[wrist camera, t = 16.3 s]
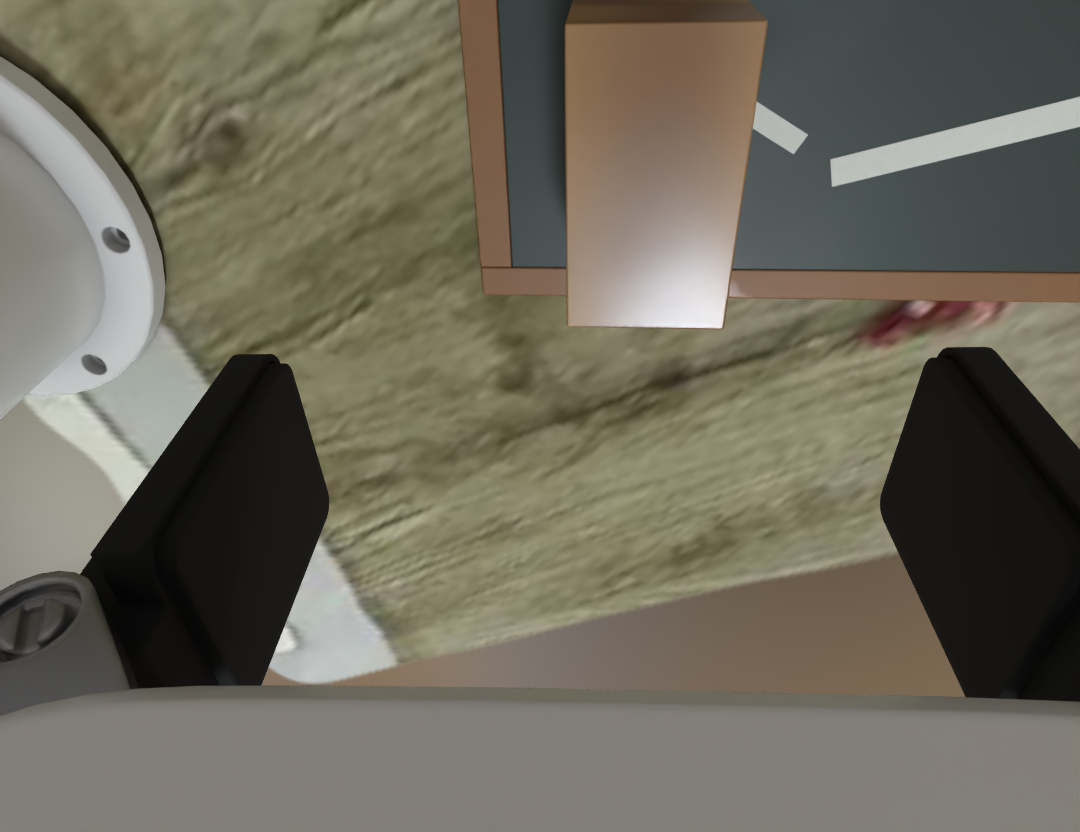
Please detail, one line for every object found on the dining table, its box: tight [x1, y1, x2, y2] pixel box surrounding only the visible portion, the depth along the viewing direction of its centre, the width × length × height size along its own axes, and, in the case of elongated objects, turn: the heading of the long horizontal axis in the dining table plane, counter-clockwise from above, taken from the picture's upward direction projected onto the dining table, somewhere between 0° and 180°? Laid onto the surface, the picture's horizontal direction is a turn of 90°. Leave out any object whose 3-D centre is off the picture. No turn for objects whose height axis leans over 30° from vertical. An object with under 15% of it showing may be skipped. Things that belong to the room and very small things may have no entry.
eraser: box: [565, 0, 768, 329], centre depth 18 cm, size 4×7×4 cm, turn 2°
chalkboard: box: [458, 0, 1080, 302], centre depth 19 cm, size 24×14×1 cm, turn 92°
